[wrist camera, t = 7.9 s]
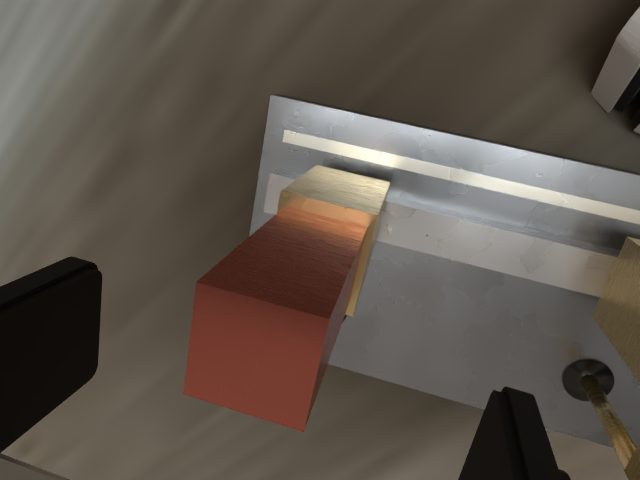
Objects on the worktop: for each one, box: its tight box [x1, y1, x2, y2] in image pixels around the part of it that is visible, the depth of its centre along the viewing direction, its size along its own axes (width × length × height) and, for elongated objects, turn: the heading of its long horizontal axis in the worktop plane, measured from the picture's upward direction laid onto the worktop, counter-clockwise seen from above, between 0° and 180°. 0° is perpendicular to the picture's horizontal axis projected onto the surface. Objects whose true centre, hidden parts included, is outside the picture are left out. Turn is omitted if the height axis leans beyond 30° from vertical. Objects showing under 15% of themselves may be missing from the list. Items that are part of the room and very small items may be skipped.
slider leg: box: [184, 165, 390, 432], centre depth 18 cm, size 8×4×14 cm, turn 169°
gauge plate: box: [249, 95, 640, 480], centre depth 21 cm, size 14×24×9 cm, turn 79°
